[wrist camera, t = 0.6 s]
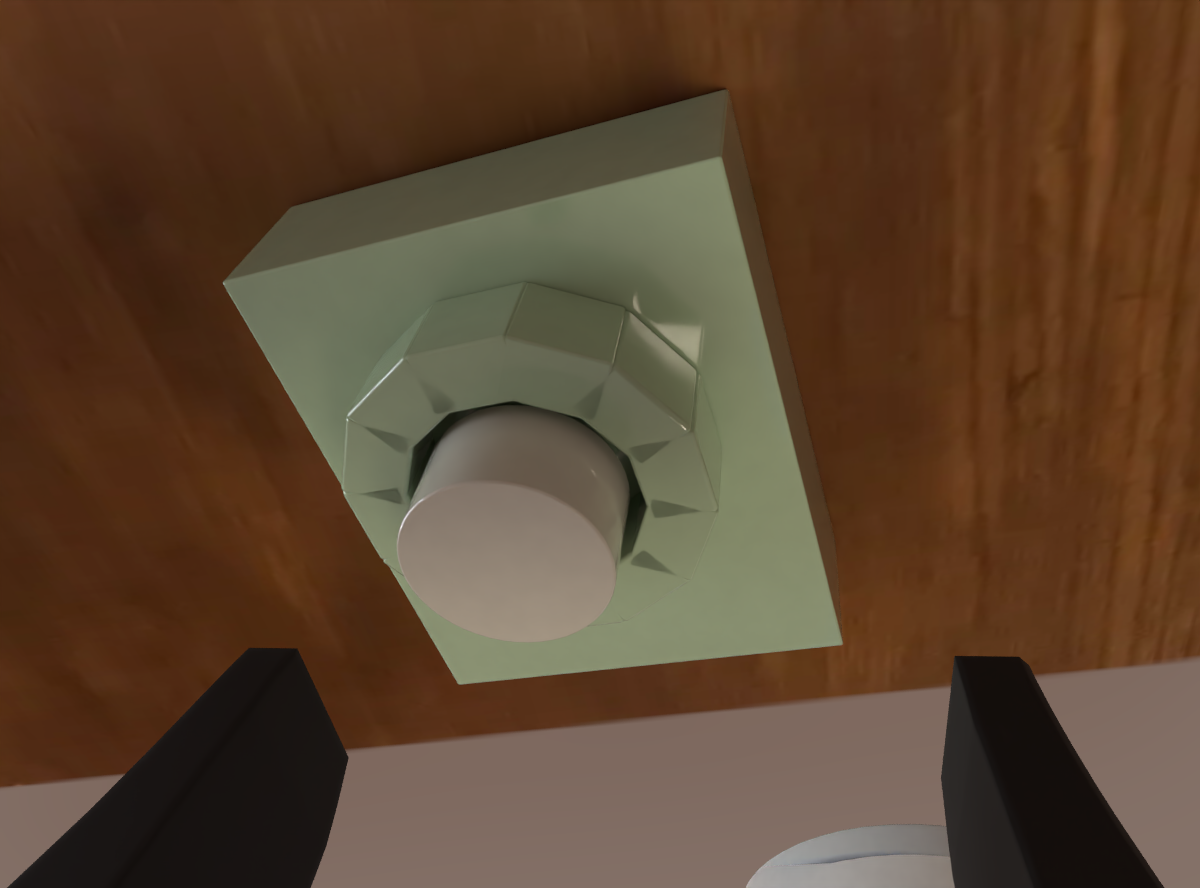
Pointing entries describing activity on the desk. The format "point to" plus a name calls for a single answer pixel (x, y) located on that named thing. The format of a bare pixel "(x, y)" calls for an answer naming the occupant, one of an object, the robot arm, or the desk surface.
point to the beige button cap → (517, 525)
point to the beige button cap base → (571, 371)
